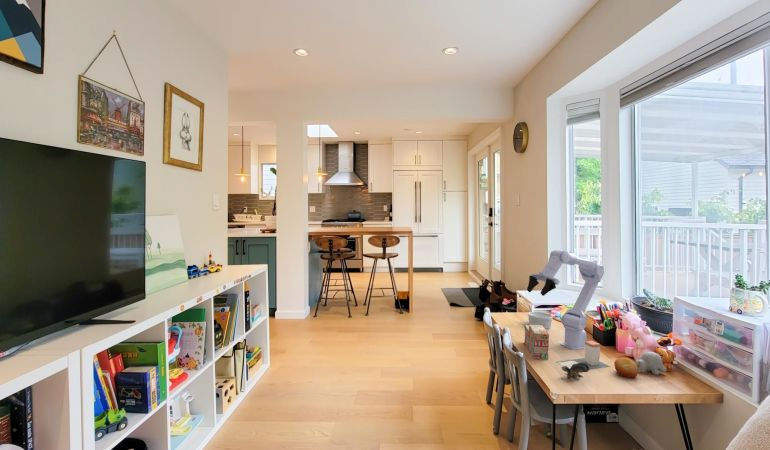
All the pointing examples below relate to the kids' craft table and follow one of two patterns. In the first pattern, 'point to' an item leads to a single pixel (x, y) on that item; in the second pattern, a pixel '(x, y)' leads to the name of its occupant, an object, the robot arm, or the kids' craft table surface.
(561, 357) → the kids' craft table surface
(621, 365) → the fruit
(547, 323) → the ramekin
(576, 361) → the mat
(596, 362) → the tall block
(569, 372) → the squirrel figurine
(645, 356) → the toy rhinoceros
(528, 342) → the stack of blocks
